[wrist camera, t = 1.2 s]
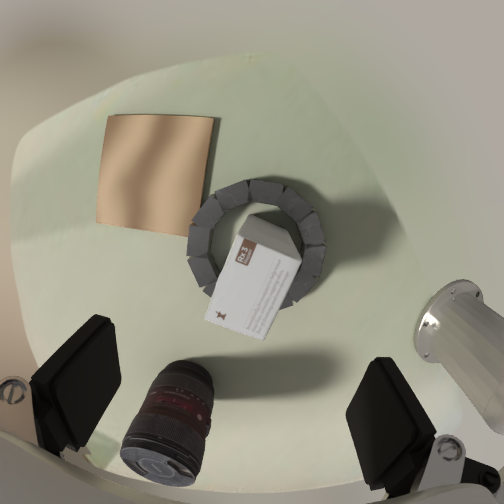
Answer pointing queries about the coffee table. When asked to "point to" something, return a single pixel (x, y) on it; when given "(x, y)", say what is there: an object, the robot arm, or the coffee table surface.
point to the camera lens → (171, 426)
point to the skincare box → (254, 279)
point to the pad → (153, 171)
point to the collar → (266, 194)
